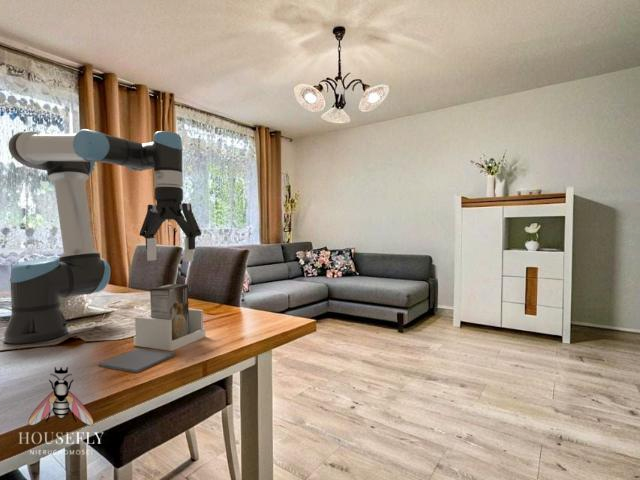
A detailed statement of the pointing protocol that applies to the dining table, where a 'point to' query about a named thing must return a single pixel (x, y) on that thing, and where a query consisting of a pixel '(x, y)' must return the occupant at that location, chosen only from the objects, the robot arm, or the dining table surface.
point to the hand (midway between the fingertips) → (170, 260)
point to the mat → (137, 360)
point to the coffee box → (172, 307)
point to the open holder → (167, 332)
